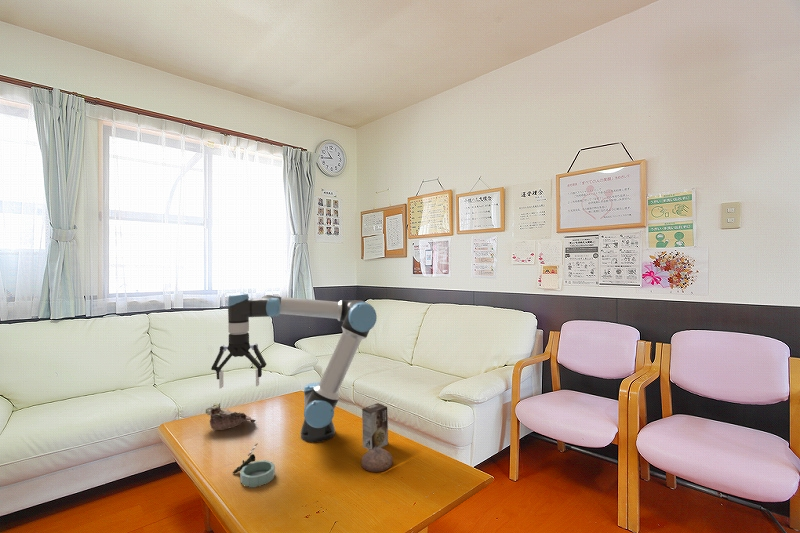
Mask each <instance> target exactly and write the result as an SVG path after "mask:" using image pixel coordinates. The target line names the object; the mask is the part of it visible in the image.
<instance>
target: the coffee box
mask: <svg viewBox="0 0 800 533" xmlns="http://www.w3.org/2000/svg"><path fill="white" fill-rule="evenodd" d="M361 411H362V412H361V414H362V415H361V416H362V447H363V448H364V449H366V450H367V451H369V450H371V449H374V448H383V447H386V446H387V445H388V444H389V424H388V420H389V419H388V406H385V405H384V404H381V403H379V402H378V403H374V404H372V405H369V406H366V407H363V408H362V410H361Z"/></svg>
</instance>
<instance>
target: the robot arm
mask: <svg viewBox="0 0 800 533" xmlns="http://www.w3.org/2000/svg"><path fill="white" fill-rule="evenodd" d="M227 299H228V302H227V314H228V315H227V317H228V318H227V319H228V320H227V321H228V322H227V323H228V326H227V327H228V345H224V344H222V345H221V346H220V347H219V351H218V354H217V355H216V358H215V360H214V362H213V364H212V366H211V368H210V370H211V371H215V372H216V380H218V381H219V382H218V383H219V384H218V385H219V387H218V388H219V389H222V388H224V370H223V367H224V366H226V364H227V363H228V362H229V361H230V360H231V358H232V357H234V358H237V357H239V358H240V357H245V358H247V359H248V360H249V361H250V362H251V363H252V364H253V366H255V368H256V369H255V387H258V386H259V385H260V378H261V377H262V376H263V375H262V373H263V372H262V371H263V369H264V368H266V367H267V363H266V360H265V359H264V356H263V355H262V353H261V351H260V350H259V346H258V343H255V344H250V333H249V331H250V320H249V318H262V317H263V318H268V317H269V318H273V317H279V316H280V315H289V316H302V317H310V318H311V317H313V318H325V319H326V318H327V319H335V320H337V321H338V322H342V325H341V329H342V333H341V335H340V337H339V339H338V341H337V345H336V346H335V348H334V351H333V352H332V355H331V356H330V360H329V362H328V364H327V366H326V369H325V370H324V373H323V374H322V377H321V379H320V381H319V382H313V383H308V384H306V385H305V386H304V387H303V388H304V389H303V398H304V399H303V401H304V403H303V404H304V405H303V406H304V407H303V408H304V409H303V417H304V419H303V423H302V426H301V430H300V438H301V440H302V441H304V442H307V443H322V442H325V441H328V440H330V439H331V438H333V437H334V436H335V435H336V428H335V424H334V422H333V419H334V416H335V408H336V406H337V405H338V401H339V399H340V396H339V391H340V388H341V386H342V384H343V383H344V382H343V381H344V379H345V378H346V375H347V373H348V371H349V368H350V367H351V365H352V362H353V360H354V357H355V356H356V353H357V351H358V349H359V346H360V343H361V341H362V340H365V339H366V338H367V337H368V336H369V332H370V330H371V329H373V328H374V327H375V325H376V323H377V317H378V316H377V312H376V310H375V308H374V307H373V305H371V304H370V303H369V302H366V301H364V300H360V299H357V300H355V299H353V300H352V299H351V300H344V299H341V300H339V301H334V300H333V301H330V300H321V299H320V300H319V299H308V298H297V297H290V296H289V297H287V296H275V295H272V294H266V295H264V296H262V297H259V298H258V297H257V298H252V297H251V298H250V297H249V294H248V293H232V294H230V295H229V296H228V298H227ZM250 349H251V350H252V351H253V353H254V355H255V356H256V358H257V359H258V360H257V359H256V358H255V357H254V355H252V353H251V352H250V351H249V350H250ZM226 351H228V352H229V353H228V354H227V356H226V357H225V359H224V360H222V362H221V359H222V357H223V355H224V353H225V352H226ZM220 362H221V363H220ZM218 365H219V366H218Z"/></svg>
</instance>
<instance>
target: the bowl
mask: <svg viewBox="0 0 800 533" xmlns="http://www.w3.org/2000/svg"><path fill="white" fill-rule="evenodd" d="M275 469H276V465H275V463H274V462H273V461H270V460H263V459H262V460H255V461H254V462H250V463H249V464H247V465H246V466H244V467H243V468H242V469H241V471H239V476H240V477H239V480H240V484H241V483H242V484H243V485H245V486H249V487H248V488H257V487H256V486H259V487H262V486H261V485H263V484H265V485H267V484H269V483H270V481H271V480H272V479H273V480H274V479H275V474H276V470H275ZM273 480H272V481H273ZM272 481H271V482H272ZM268 482H269V483H268ZM266 483H267V484H266ZM242 484H241V485H242ZM243 485H242V486H243ZM245 486H244V487H245ZM263 486H264V485H263Z"/></svg>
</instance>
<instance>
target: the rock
mask: <svg viewBox="0 0 800 533" xmlns="http://www.w3.org/2000/svg"><path fill="white" fill-rule="evenodd" d="M205 414H207V416H210V419H209V425H210V427H211V429H212V430H213V431H218V430H219V431H222V430H226V429H227V430H228V429H231V428H235V427H237V426H240V425H241V424H242V423H243V422H245V421H250V422H251V423H255V422H256V421H257V420H256V419H253V418H252V417H251V416H249V415H247V414H245V413H244V412H236V411H234V412H233V411H231V410H229V409H227V408H221V402H220V403H213V406H211V407H207V408H206V409H205Z"/></svg>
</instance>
